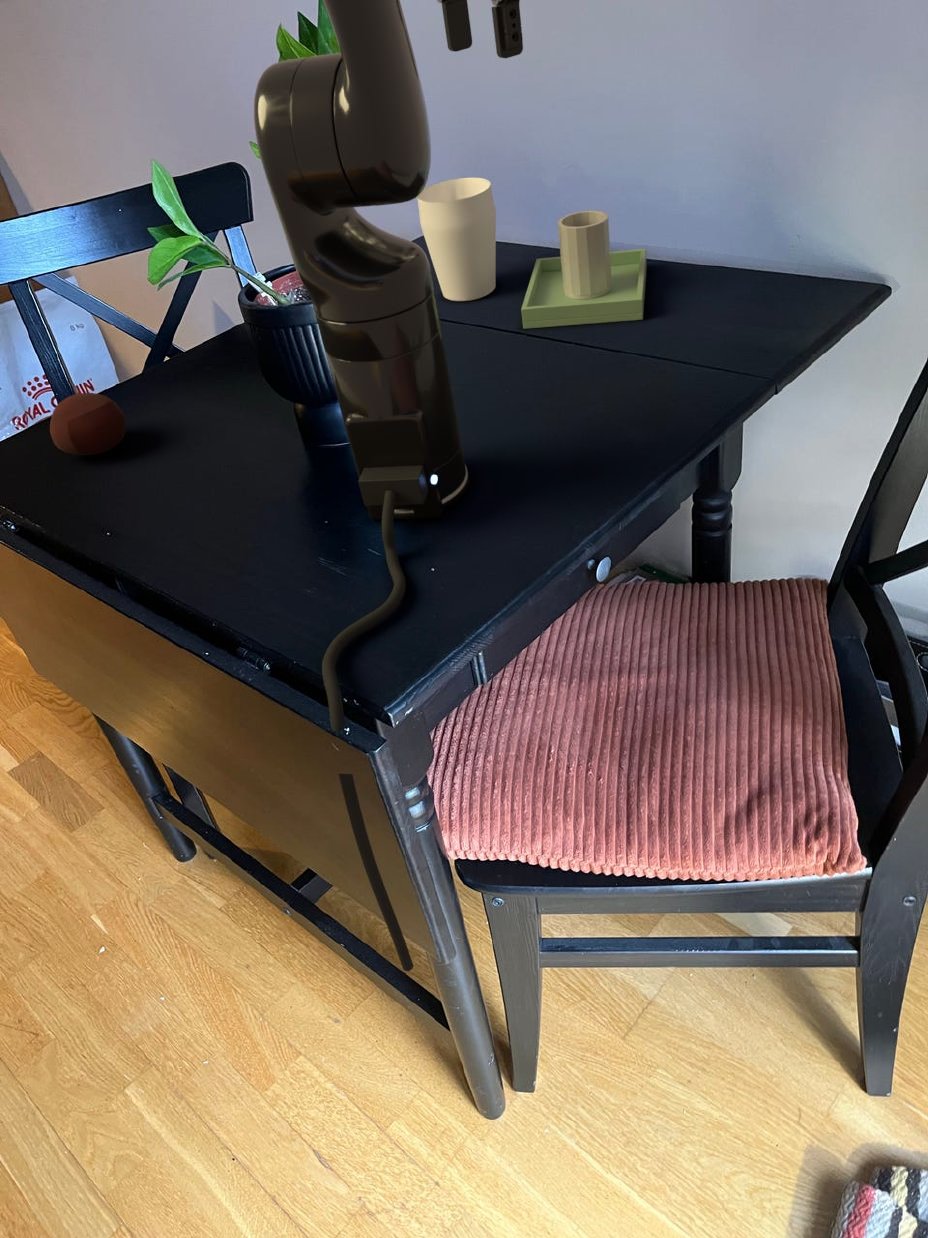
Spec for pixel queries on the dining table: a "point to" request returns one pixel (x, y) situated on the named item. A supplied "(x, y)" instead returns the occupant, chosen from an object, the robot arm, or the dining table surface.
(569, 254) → the tumbler
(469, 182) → the cup
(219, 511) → the dining table surface
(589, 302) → the tray
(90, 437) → the potato
